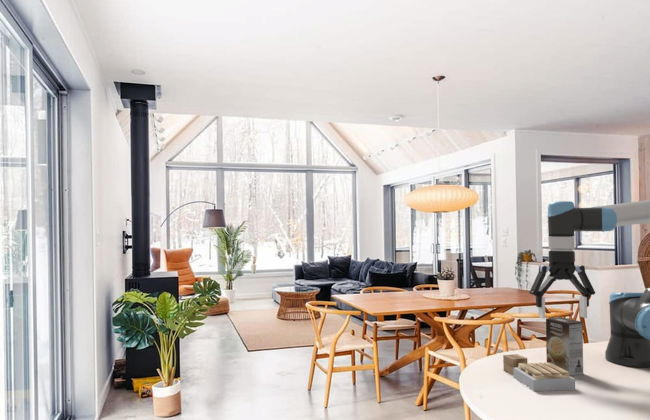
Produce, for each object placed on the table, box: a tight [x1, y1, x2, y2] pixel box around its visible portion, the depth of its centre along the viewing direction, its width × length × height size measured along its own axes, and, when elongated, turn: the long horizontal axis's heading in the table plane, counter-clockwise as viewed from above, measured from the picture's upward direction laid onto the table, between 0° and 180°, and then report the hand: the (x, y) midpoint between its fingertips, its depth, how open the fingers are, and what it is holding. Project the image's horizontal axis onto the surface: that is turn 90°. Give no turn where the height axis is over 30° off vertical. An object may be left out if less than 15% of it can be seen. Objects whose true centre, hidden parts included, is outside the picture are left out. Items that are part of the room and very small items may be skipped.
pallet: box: [518, 362, 570, 379], centre depth 140 cm, size 10×10×2 cm
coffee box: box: [545, 316, 584, 377], centre depth 152 cm, size 9×6×16 cm
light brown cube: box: [502, 353, 528, 376], centre depth 150 cm, size 5×5×5 cm
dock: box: [513, 367, 576, 392], centre depth 140 cm, size 12×12×3 cm
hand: (562, 317), depth 152 cm, fingers open, 13 cm apart
